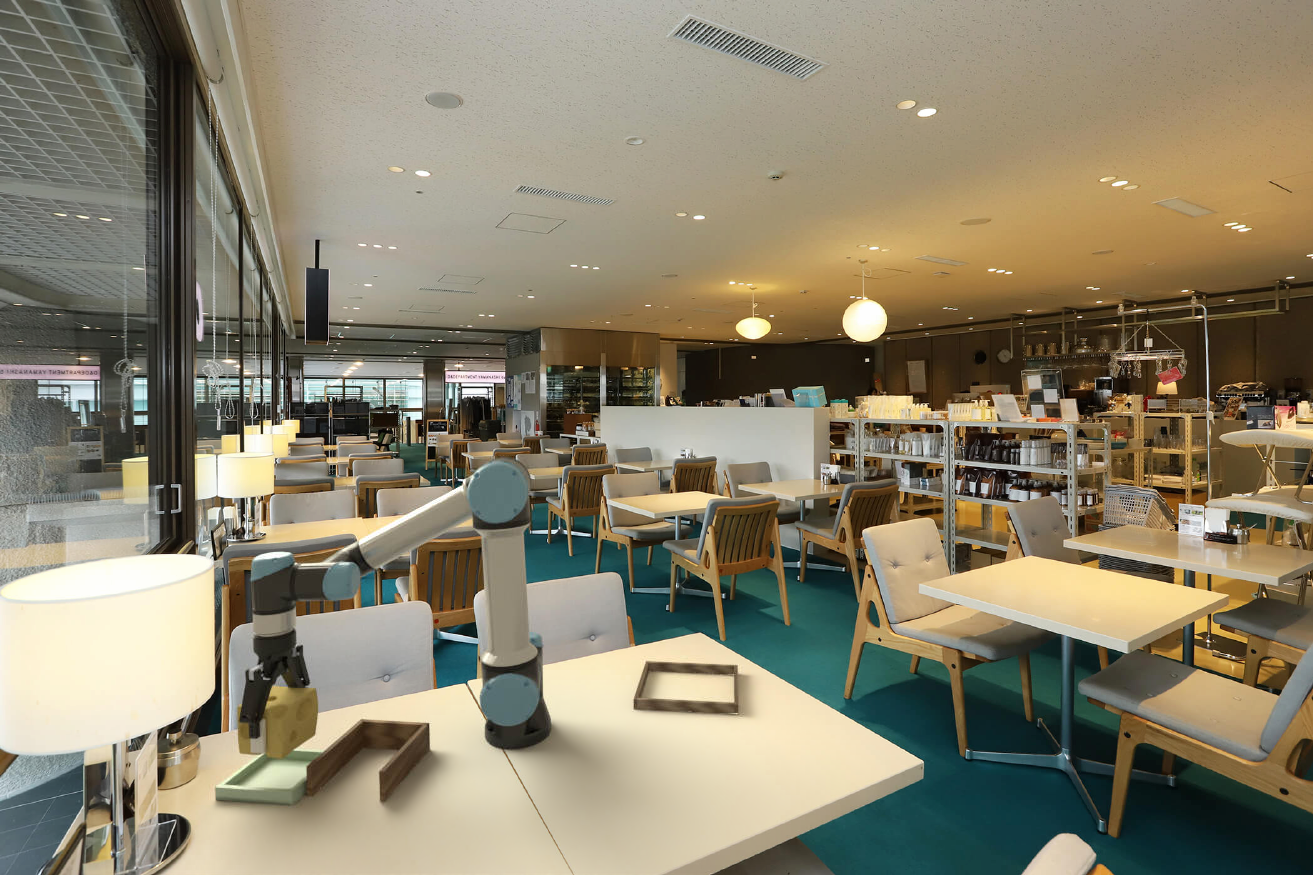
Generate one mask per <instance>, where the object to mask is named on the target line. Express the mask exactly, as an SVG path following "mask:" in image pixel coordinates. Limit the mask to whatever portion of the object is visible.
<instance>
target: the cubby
mask: <svg viewBox="0 0 1313 875" xmlns="http://www.w3.org/2000/svg"><path fill="white" fill-rule="evenodd" d="M430 734H431V732H430V722H418V721H417V722H416V721H402V720H401V721H400V720H382V719H381V720H380V719H363V718H361V719H360V720H358V721H356V723H355V724H353V725H352V726H351V727H350V728H349V729H348V730H347V731H345V733H343V734H342V735H340V737H339V738H337V739H336V740H335V741H334V742H332V744H331V745H330V746H328V747H327V748H326V749H324V750H325V751H324V752H323V753H321V754H320V755H319V756H318V757H317V758H316V759H314V760H313V761H312V762H311V763H310V764H309V765H308V766H306V771H307V792H306V794H307V797H313V796H315V795H316V794H317V793H318V792H319V791H320V790H321V789H322V788H323V787H324V786H325V785H326V784H327V783H328V782H329V781H330V780H331V779H333V777H335V775H336V774H338V773H339V772H340V771H341V770H342V769H343V768H344V767H345V766H346V765H347V764H348V763H349V762H350V761H352V760H353V759H354V757H356V755H358V754H359V753H360V752H361V751H362V750H363V749H378V750H392V751H395V750H396V753H395V754H393V756H392V757H391V758H390V759H389V760H388V761H387V762H386V763H385V764H384V765H383V766H382V768H381V769H379V770H378V780H379V781H378V782H379V802H384V803H385V802H386V801H387V800H388V799H389V798H390V796H391V795H392V794H393V793H394V792H395V791H396V789H398V788H399V787H400V785H401V783H403V782H404V780H405V779H406V778H407V777H408V775H409V774H410V773H412V771H413V770H414V769H415V767H417V765H418V764H419V763H420V762H421V760H422V759H423V758H424V757H425V756H426V755H427V754H428V752H429V751H430V750H431V738H430V737H431V736H430Z"/></svg>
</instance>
